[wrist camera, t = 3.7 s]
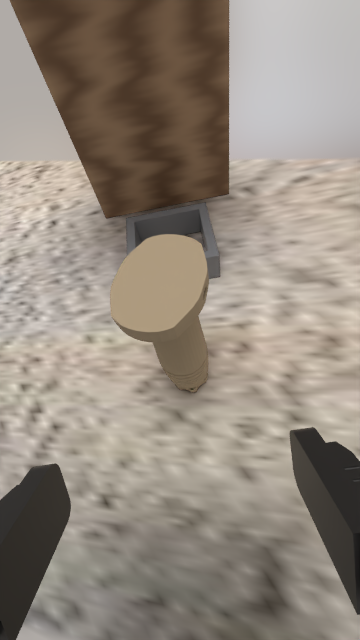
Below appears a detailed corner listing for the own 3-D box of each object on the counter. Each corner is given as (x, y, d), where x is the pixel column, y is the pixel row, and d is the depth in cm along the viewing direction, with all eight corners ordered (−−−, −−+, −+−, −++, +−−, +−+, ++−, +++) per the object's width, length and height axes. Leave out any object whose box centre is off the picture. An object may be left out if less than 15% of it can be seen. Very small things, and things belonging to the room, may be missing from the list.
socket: (136, 291, 34) (127, 272, 31) (134, 239, 39) (126, 218, 36) (220, 276, 33) (219, 255, 30) (207, 224, 38) (205, 202, 35)
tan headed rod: (157, 403, 27) (92, 322, 14) (176, 343, 30) (137, 230, 17) (207, 416, 26) (187, 340, 13) (222, 352, 29) (217, 238, 16)
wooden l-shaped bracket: (104, 281, 36) (-272, -360, 9) (106, 211, 43) (-97, -261, 16) (249, 254, 35) (320, -573, 8) (226, 186, 42) (223, -364, 15)
